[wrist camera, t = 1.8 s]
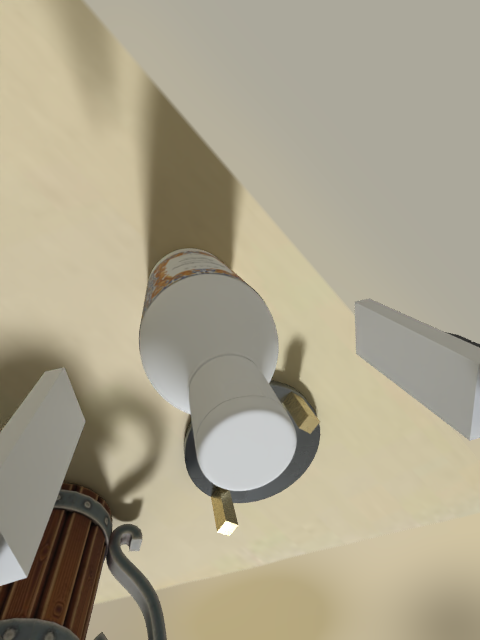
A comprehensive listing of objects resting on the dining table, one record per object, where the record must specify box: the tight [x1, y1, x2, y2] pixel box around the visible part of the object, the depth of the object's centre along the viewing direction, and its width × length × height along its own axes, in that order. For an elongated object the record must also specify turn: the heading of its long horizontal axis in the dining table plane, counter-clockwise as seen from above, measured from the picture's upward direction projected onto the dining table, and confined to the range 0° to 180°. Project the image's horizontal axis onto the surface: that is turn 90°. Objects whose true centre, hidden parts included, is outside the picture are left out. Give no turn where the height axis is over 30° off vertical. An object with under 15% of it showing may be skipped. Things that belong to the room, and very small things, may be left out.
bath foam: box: [139, 248, 297, 491], centre depth 18 cm, size 7×7×20 cm
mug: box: [0, 483, 167, 640], centre depth 26 cm, size 16×11×15 cm
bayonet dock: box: [184, 380, 320, 536], centre depth 32 cm, size 14×14×5 cm
